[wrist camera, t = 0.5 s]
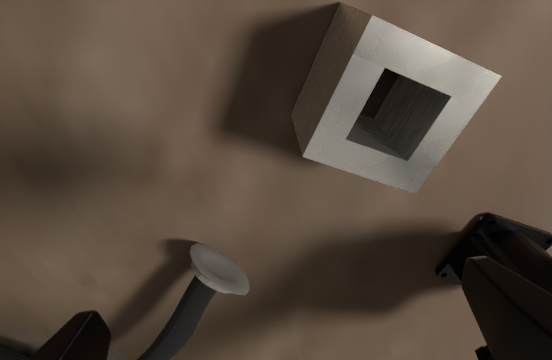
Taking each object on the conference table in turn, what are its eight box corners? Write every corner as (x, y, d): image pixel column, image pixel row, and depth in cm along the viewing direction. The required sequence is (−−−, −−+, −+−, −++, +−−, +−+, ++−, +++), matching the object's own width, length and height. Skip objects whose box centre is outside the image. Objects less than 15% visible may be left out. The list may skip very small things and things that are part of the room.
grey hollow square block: (441, 49, 18) (501, 76, 13) (381, 146, 20) (415, 194, 16) (340, 1, 16) (372, 15, 12) (290, 114, 19) (302, 156, 15)
